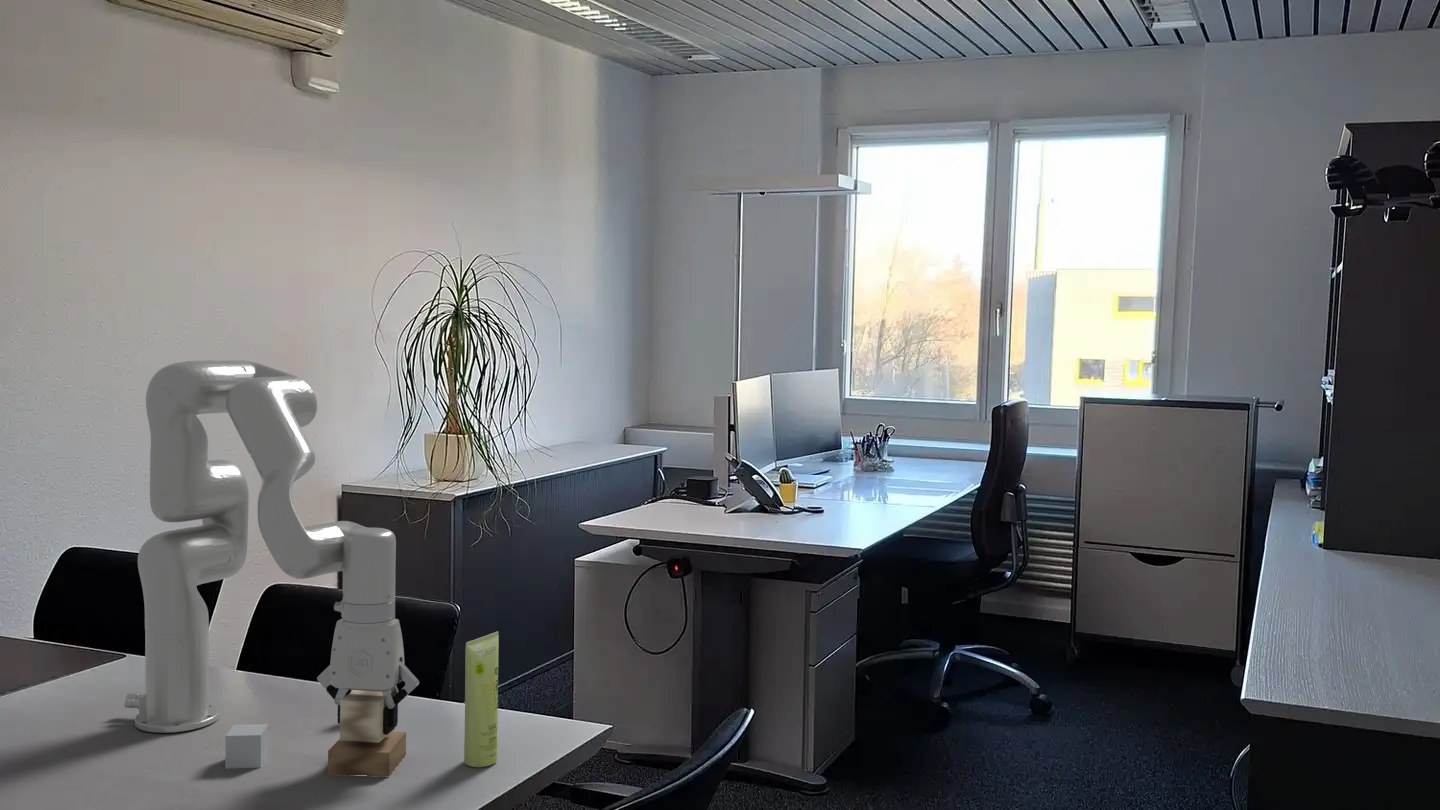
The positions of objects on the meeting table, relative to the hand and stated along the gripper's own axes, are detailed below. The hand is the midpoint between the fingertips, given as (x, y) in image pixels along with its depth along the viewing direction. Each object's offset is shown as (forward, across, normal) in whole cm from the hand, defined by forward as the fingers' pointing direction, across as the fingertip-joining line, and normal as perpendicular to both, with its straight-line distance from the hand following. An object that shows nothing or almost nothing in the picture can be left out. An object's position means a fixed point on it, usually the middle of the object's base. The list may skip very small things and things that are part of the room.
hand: (367, 729), depth 180 cm
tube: (+6, +16, +4) cm, 18 cm away
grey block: (+6, -18, -2) cm, 19 cm away
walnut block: (+6, 0, 0) cm, 6 cm away
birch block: (+1, 0, 0) cm, 1 cm away
